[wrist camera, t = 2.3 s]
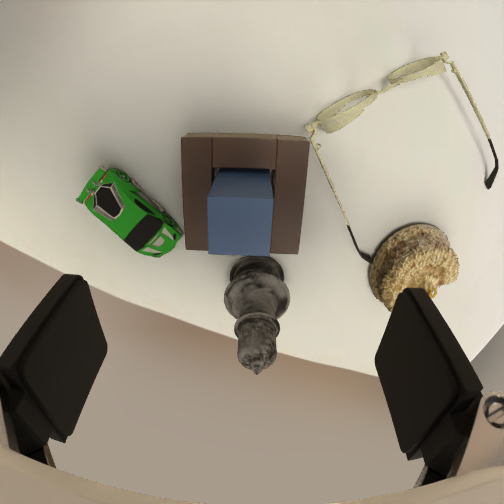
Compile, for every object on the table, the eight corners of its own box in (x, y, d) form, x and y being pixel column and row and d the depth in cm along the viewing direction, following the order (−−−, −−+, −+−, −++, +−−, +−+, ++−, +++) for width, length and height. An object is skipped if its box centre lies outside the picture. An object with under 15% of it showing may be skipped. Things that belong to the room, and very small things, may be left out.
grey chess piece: (217, 261, 30) (199, 355, 20) (277, 244, 29) (287, 336, 19) (239, 307, 33) (232, 402, 22) (293, 293, 32) (307, 388, 21)
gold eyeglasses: (440, 48, 19) (472, 44, 15) (491, 185, 25) (520, 203, 21) (284, 131, 24) (291, 140, 20) (365, 265, 30) (380, 294, 26)
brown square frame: (190, 237, 29) (185, 250, 27) (187, 132, 24) (180, 137, 22) (295, 241, 29) (298, 254, 27) (304, 136, 24) (309, 141, 22)
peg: (220, 209, 28) (208, 254, 21) (221, 165, 26) (206, 196, 19) (266, 211, 28) (269, 257, 21) (268, 167, 26) (273, 198, 19)
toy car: (189, 231, 29) (184, 242, 27) (158, 260, 30) (152, 273, 28) (111, 157, 25) (100, 163, 23) (85, 193, 27) (73, 201, 25)
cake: (347, 278, 31) (360, 312, 26) (410, 202, 27) (435, 225, 22) (407, 315, 33) (423, 347, 29) (464, 252, 29) (488, 278, 24)
